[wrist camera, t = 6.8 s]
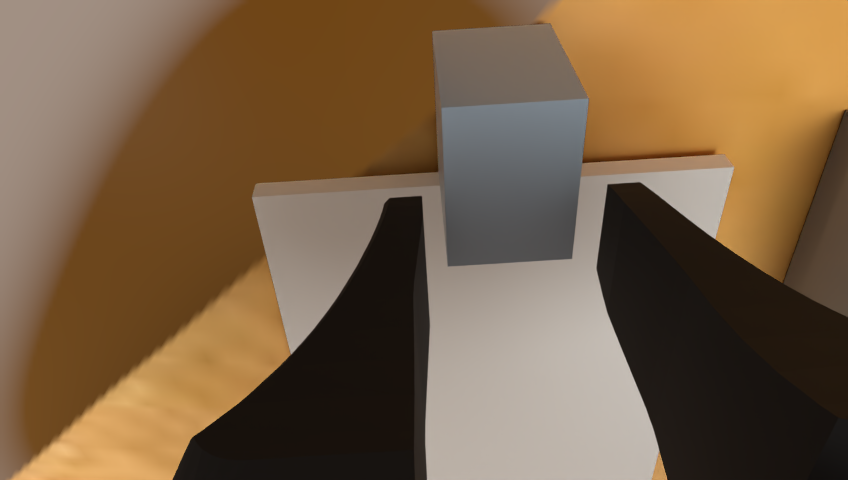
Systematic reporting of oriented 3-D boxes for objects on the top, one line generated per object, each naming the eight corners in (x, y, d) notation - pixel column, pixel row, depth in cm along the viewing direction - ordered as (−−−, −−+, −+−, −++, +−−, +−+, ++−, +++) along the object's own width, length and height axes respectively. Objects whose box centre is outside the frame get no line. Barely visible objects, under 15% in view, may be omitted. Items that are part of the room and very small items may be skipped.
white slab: (633, 471, 26) (671, 589, 22) (335, 489, 26) (326, 609, 22) (745, -2, 15) (851, 81, 11) (229, 30, 15) (180, 124, 11)
